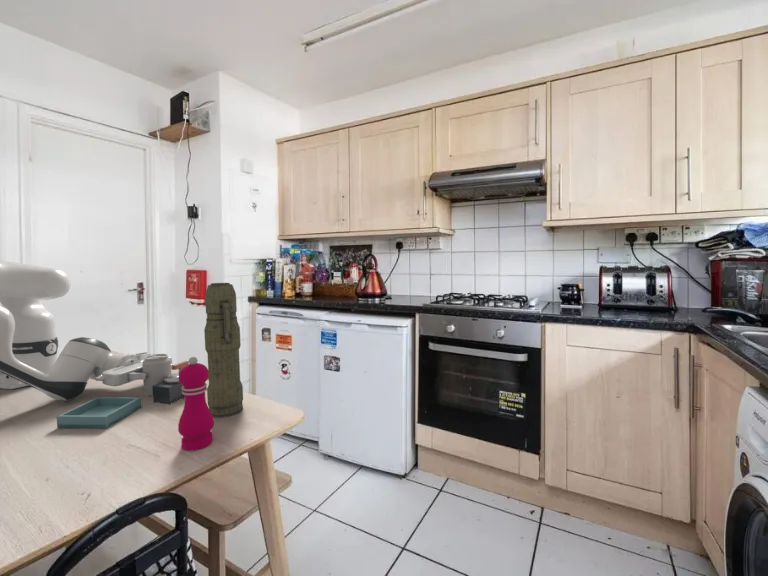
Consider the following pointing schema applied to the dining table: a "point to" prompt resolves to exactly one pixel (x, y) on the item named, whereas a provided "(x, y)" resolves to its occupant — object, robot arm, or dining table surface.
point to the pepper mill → (195, 407)
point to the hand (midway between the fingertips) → (159, 371)
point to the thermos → (223, 351)
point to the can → (155, 371)
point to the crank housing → (169, 387)
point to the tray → (99, 412)
